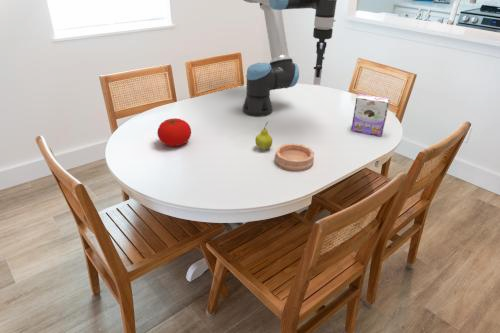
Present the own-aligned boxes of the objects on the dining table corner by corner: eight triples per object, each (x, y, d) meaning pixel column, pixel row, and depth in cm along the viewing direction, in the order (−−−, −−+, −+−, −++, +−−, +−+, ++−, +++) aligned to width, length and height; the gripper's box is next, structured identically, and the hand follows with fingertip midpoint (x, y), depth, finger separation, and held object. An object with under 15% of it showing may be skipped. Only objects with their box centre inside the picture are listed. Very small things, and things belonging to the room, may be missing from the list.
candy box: (383, 132, 172) (390, 98, 164) (381, 137, 167) (388, 102, 159) (352, 126, 177) (358, 93, 168) (350, 131, 172) (356, 97, 164)
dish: (271, 167, 142) (272, 158, 140) (278, 150, 155) (279, 141, 153) (310, 173, 139) (312, 164, 137) (315, 155, 152) (316, 146, 150)
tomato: (180, 133, 167) (178, 111, 161) (198, 143, 159) (196, 120, 154) (152, 143, 158) (149, 120, 153) (169, 154, 150) (167, 130, 145)
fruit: (259, 153, 152) (260, 126, 146) (252, 146, 157) (253, 120, 151) (274, 150, 154) (276, 124, 148) (267, 143, 160) (268, 117, 154)
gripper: (332, 34, 138) (325, 89, 149) (333, 22, 159) (326, 71, 170) (312, 33, 140) (306, 88, 150) (315, 21, 161) (310, 70, 172)
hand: (317, 79), depth 160 cm, fingers open, 13 cm apart
